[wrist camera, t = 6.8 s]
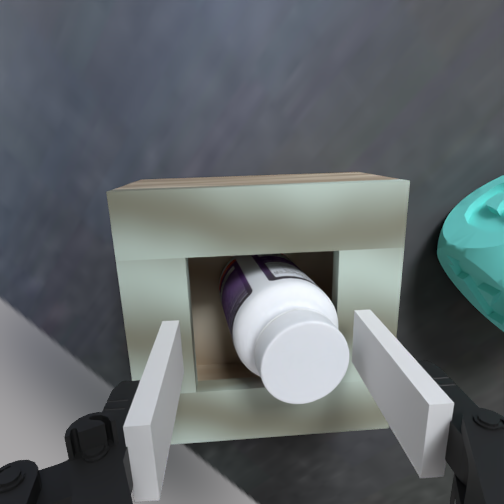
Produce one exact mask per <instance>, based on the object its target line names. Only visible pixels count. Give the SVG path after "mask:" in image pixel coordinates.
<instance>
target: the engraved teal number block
mask: <svg viewBox="0 0 504 504" xmlns="http://www.w3.org/2000/svg"><path fill="white" fill-rule="evenodd" d="M437 256H438V259H439V262H440V264H441V266H442V267H443V269H444V271H445V272H446V274H447V275H448V277H449V278H450V279H451V281H452V282H453V283H454V285H455V286H456V287H457V288H458V289H459V291H460V292H461V293H462V294H463V295H464V296H465V297H466V298H467V299H468V301H469V302H470V303H471V304H472V305H473V306H474V307H475V308H476V309H477V310H478V311H480V312H481V313H482V314H483V315H484V316H485V317H486V318H487V319H488V320H490V321H491V322H492V323H493V324H494V325H496V326H497V327H498V328H499V329H501V330H502V331H503V332H504V175H503V176H501V177H499V178H497V179H494V180H492V181H491V182H489V183H487V184H485V185H483V186H482V187H480V188H478V189H477V190H475V191H474V192H472V193H471V194H469V195H468V196H467V197H465V198H464V199H463V200H462V201H461V202H460V203H458V204H457V205H456V206H455V207H454V209H453V210H452V211H451V212H450V213H449V215H448V216H447V218H446V220H445V222H444V224H443V227H442V229H441V232H440V236H439V240H438V246H437Z"/></svg>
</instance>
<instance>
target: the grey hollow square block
mask: <svg viewBox="0 0 504 504" xmlns="http://www.w3.org/2000/svg"><path fill="white" fill-rule="evenodd" d="M409 186H410V181H407V180H402V179H396V178H390V177H384V176H378V175H373V174H367V173H361V172H345V173H316V174H288V175H259V176H230V177H201V178H172V179H143V180H139V181H136V182H133V183H130V184H127V185H125V186H122V187H119V188H116V189H113V190H110V191H108V192H106V193H107V200H108V207H109V215H110V222H111V229H112V237H113V244H114V251H115V258H116V266H117V273H118V280H119V288H120V295H121V302H122V310H123V317H124V324H125V332H126V339H127V346H128V354H129V361H130V368H131V376H132V381H136V380H141V377H142V375H143V372H144V369H145V367H146V364H147V361H148V359H149V356H150V353H151V350H152V348H153V345H154V342H155V340H156V337H157V334H158V332H159V329H160V326H161V324H162V321H175V320H179V323H180V334H181V345H182V356H183V367H184V376H183V381H182V386H181V391H180V397H179V402H178V407H177V412H176V418H175V423H174V428H173V434H172V439H171V444H170V445H172V444H185V443H198V442H211V441H225V440H238V439H251V438H264V437H278V436H291V435H304V434H317V433H330V432H344V431H357V430H370V429H383V428H388V427H389V424H388V422H387V421H386V419H385V417H384V416H383V414H382V412H381V411H380V409H379V407H378V406H377V404H376V402H375V400H374V399H373V397H372V395H371V394H370V392H369V390H368V389H367V387H366V385H365V383H364V382H363V380H362V378H361V377H360V375H359V373H358V372H357V370H356V368H355V367H354V365H353V363H352V347H353V327H354V310H371V311H372V312H373V313H374V314H375V315H376V316H377V318H378V319H379V320H380V321H381V322H382V323H383V324H384V325H385V326H386V328H387V329H388V330H389V331H390V332H391V333H392V334H393V335H394V336H395V338H396V335H397V323H398V312H399V301H400V289H401V278H402V266H403V255H404V243H405V232H406V220H407V209H408V197H409ZM278 253H283V254H284V255H285V256H287V257H288V258H289V259H290V260H291V261H292V262H293V263H294V264H295V265H296V266H297V267H299V268H300V269H301V270H302V271H303V272H304V273H305V274H306V275H307V276H308V277H309V278H310V279H311V280H312V281H313V282H314V283H315V284H316V285H317V286H318V287H319V288H321V289H322V290H323V292H324V293H325V294H326V295H327V296H328V297H329V299H330V300H331V302H332V303H333V305H334V307H335V310H336V313H337V317H338V330H339V331H340V332H341V333H342V335H343V336H344V338H345V340H346V342H347V344H348V348H349V364H348V368H347V371H346V373H345V375H344V377H343V379H342V380H341V382H340V383H339V384H338V385H337V386H336V388H335V389H334V390H332V391H331V392H330V393H329V394H327V395H326V396H324V397H322V398H321V399H318V400H316V401H313V402H310V403H305V404H291V403H286V402H283V401H280V400H278V399H277V398H275V397H274V396H273V395H271V394H270V393H269V392H268V390H267V389H266V388H265V386H264V384H263V382H262V379H261V377H260V376H258V375H256V374H255V373H253V372H252V371H250V370H249V369H248V368H247V367H246V366H245V365H244V364H243V362H242V361H241V360H240V358H239V356H238V354H237V352H236V350H235V347H234V344H233V340H232V337H231V334H230V330H229V327H228V324H227V321H226V317H225V314H224V311H223V307H222V304H221V301H220V296H219V280H220V276H221V273H222V271H223V269H224V268H225V266H226V265H227V263H228V262H229V261H230V260H231V259H232V258H233V257H234V256H235V255H257V254H278Z"/></svg>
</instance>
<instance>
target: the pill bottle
mask: <svg viewBox="0 0 504 504" xmlns="http://www.w3.org/2000/svg"><path fill="white" fill-rule="evenodd" d="M219 296H220V301H221V304H222V307H223V311H224V314H225V317H226V321H227V324H228V327H229V330H230V334H231V337H232V340H233V344H234V347H235V350H236V352H237V354H238V356H239V358H240V360H241V361H242V362H243V364H244V365H245V366H246V367H247V368H248V369H249V370H250V371H252V372H253V373H255V374H256V375H258V376H260V377H261V379H262V382H263V384H264V386H265V388H266V389H267V390H268V392H269V393H270V394H271V395H273V396H274V397H275V398H277V399H278V400H280V401H283V402H286V403H291V404H305V403H310V402H313V401H316V400H318V399H321V398H322V397H324V396H326V395H327V394H329V393H330V392H331V391H332V390H334V389H335V388H336V386H337V385H338V384H339V383H340V382H341V380H342V379H343V377H344V375H345V373H346V371H347V368H348V364H349V348H348V344H347V342H346V340H345V338H344V336H343V335H342V333H341V332H340V331H339V330H338V317H337V313H336V310H335V307H334V305H333V303H332V302H331V300H330V299H329V297H328V296H327V295H326V294H325V293H324V292H323V290H322V289H321V288H319V287H318V286H317V285H316V284H315V283H314V282H313V281H312V280H311V279H310V278H309V277H308V276H307V275H306V274H305V273H304V272H303V271H302V270H301V269H300V268H299V267H297V266H296V265H295V264H294V263H293V262H292V261H291V260H290V259H289V258H288V257H287V256H285V255H284V254H283V253H278V254H257V255H235V256H234V257H233V258H232V259H231V260H230V261H229V262H228V263H227V265H226V266H225V268H224V269H223V271H222V273H221V276H220V280H219Z"/></svg>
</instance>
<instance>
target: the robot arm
mask: <svg viewBox="0 0 504 504" xmlns="http://www.w3.org/2000/svg"><path fill="white" fill-rule="evenodd" d="M352 363H353V365H354V367H355V368H356V370H357V372H358V373H359V375H360V377H361V378H362V380H363V382H364V383H365V385H366V387H367V389H368V390H369V392H370V394H371V395H372V397H373V399H374V400H375V402H376V404H377V406H378V407H379V409H380V411H381V412H382V414H383V416H384V417H385V419H386V421H387V422H388V424H389V426H390V428H391V429H392V431H393V433H394V434H395V436H396V438H397V439H398V441H399V443H400V445H401V446H402V448H403V450H404V451H405V453H406V455H407V456H408V458H409V460H410V461H411V463H412V465H413V467H414V468H415V470H416V472H417V473H418V475H419V477H420V478H430V477H442V476H444V471H445V464H446V461H447V463H448V464H449V466H450V467H451V469H452V470H453V471H454V478H453V484H452V491H451V497H450V504H454V501H455V499H456V504H504V417H503V416H502V415H500V414H498V413H496V412H494V411H491V410H487V409H484V408H479V407H478V406H477V405H476V404H475V403H474V402H473V401H472V400H471V399H470V398H469V397H468V396H467V395H466V394H465V393H464V392H463V391H462V390H461V389H460V388H459V387H458V386H457V385H455V383H454V382H453V381H452V380H451V379H450V378H448V376H447V375H446V374H445V373H444V372H443V371H442V370H441V368H439V367H438V366H436V365H434V364H432V363H431V362H429V361H416V360H415V359H414V358H413V357H412V355H411V354H410V353H409V352H408V351H407V350H406V349H405V348H404V347H403V345H402V344H401V343H400V342H399V341H398V340H397V339H396V338H395V336H394V335H393V334H392V333H391V332H390V331H389V330H388V329H387V328H386V326H385V325H384V324H383V323H382V322H381V321H380V320H379V319H378V318H377V316H376V315H375V314H374V313H373V312H372V311H371V310H354V327H353V347H352ZM183 376H184V367H183V356H182V345H181V334H180V323H179V320H175V321H162V324H161V326H160V329H159V332H158V334H157V337H156V340H155V342H154V345H153V348H152V350H151V353H150V356H149V359H148V361H147V364H146V367H145V369H144V372H143V375H142V377H141V380H136V381H122V382H121V383H120V384H119V385H118V386H116V387H115V388H114V389H113V390H112V392H111V394H110V396H109V398H108V400H107V403H106V405H105V407H104V410H103V411H102V412H97V413H92V414H88V415H86V416H83V417H81V418H79V419H78V420H76V421H75V422H74V423H72V424H71V425H70V427H69V428H68V429H67V430H66V434H65V442H66V447H67V452H68V457H69V460H67V461H65V462H63V463H60V464H58V465H54V466H51V467H48V468H45V469H42V470H38V467H37V465H36V464H35V462H32V461H30V460H19V461H15V462H12V463H9V464H7V465H5V466H3V467H1V468H0V504H133V503H132V498H131V492H132V490H133V496H134V502H144V501H156V500H160V497H161V492H162V486H163V481H164V476H165V470H166V465H167V460H168V455H169V449H170V444H171V439H172V434H173V428H174V423H175V418H176V412H177V407H178V402H179V397H180V391H181V386H182V381H183Z"/></svg>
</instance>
